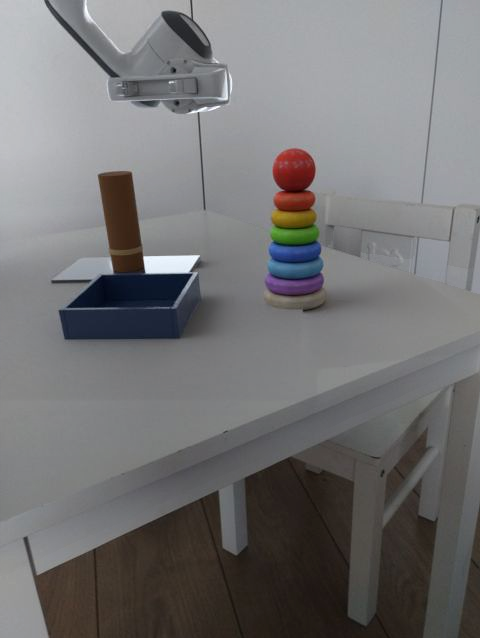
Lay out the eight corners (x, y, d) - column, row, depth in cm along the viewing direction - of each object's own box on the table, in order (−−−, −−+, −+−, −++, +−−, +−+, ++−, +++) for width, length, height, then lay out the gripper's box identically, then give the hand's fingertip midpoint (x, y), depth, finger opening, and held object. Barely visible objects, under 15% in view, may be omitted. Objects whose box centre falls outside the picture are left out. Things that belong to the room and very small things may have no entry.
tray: (65, 344, 64) (58, 310, 63) (104, 303, 76) (99, 273, 74) (180, 343, 63) (176, 308, 61) (201, 302, 75) (198, 272, 73)
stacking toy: (333, 309, 70) (335, 150, 62) (270, 316, 69) (263, 154, 61) (317, 289, 77) (317, 144, 70) (259, 295, 76) (253, 147, 69)
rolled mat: (107, 272, 86) (91, 176, 80) (118, 263, 90) (103, 171, 84) (140, 272, 85) (126, 175, 79) (148, 262, 90) (136, 170, 84)
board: (52, 286, 84) (50, 280, 83) (82, 263, 95) (80, 257, 94) (185, 284, 82) (185, 277, 82) (200, 261, 93) (200, 255, 92)
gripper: (128, 69, 101) (83, 68, 89) (236, 63, 95) (204, 61, 83) (133, 108, 104) (90, 112, 92) (238, 104, 98) (207, 108, 86)
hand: (145, 88), depth 87 cm, fingers open, 8 cm apart
